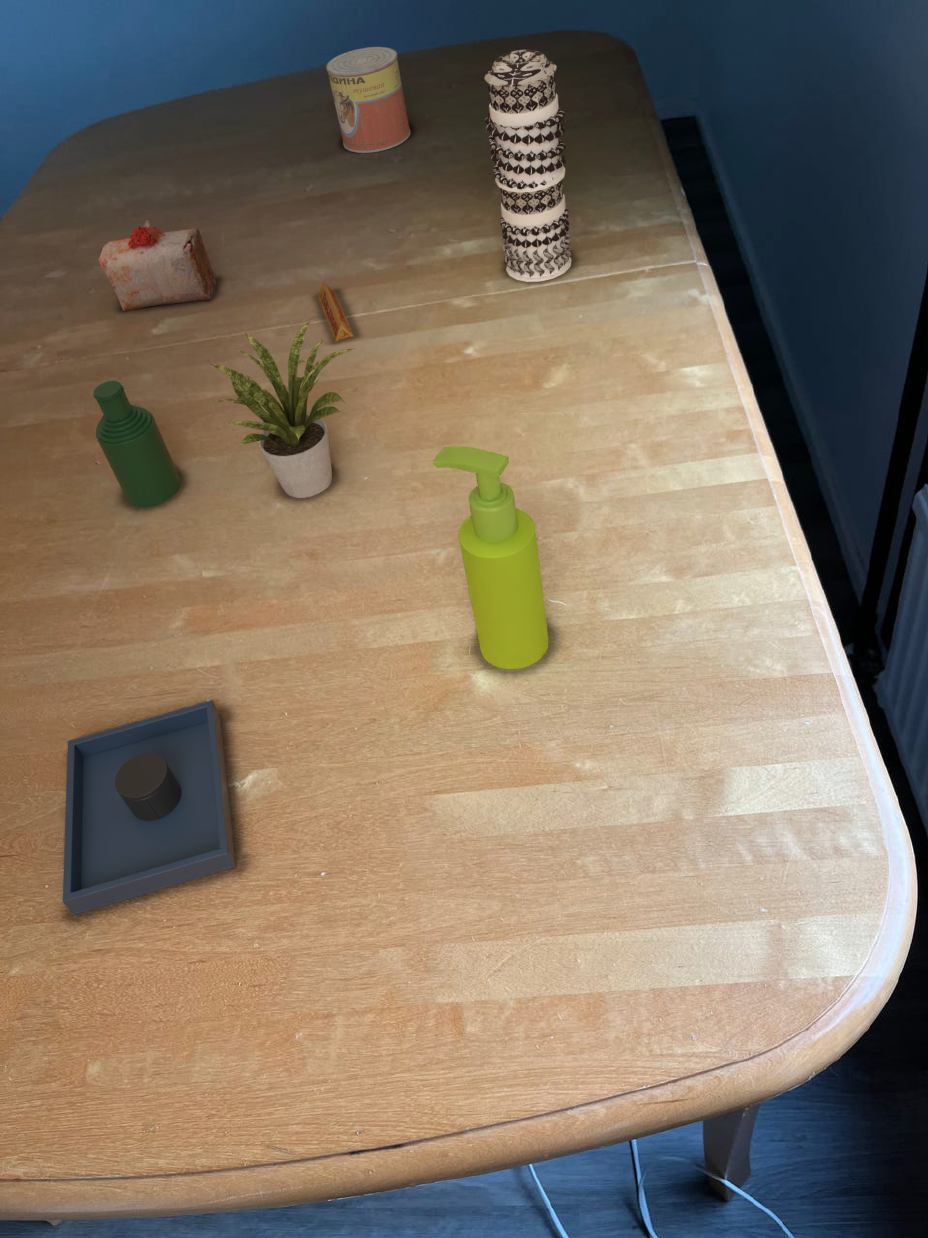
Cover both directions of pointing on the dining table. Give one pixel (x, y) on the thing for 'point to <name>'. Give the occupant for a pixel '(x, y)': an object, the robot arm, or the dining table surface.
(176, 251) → the food item
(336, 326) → the chocolate bar
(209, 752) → the tray
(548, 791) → the dining table surface
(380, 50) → the canned food
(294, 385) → the house plant
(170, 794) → the cap
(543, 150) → the decorative candle
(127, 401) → the bottle
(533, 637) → the soap dispenser
